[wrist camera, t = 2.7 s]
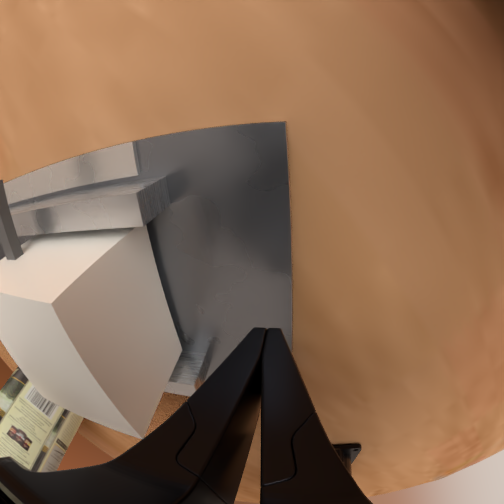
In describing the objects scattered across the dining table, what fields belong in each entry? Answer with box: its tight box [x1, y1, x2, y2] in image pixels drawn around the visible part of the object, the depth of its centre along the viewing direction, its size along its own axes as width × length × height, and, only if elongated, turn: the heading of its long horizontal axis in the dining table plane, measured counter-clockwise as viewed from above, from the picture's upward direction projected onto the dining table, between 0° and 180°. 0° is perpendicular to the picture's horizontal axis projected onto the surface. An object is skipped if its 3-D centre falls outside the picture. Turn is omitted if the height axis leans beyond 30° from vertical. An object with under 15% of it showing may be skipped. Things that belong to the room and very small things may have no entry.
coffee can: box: [0, 366, 84, 472], centre depth 17 cm, size 10×10×14 cm
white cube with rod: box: [0, 180, 182, 439], centre depth 9 cm, size 9×15×5 cm, turn 95°
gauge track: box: [0, 121, 293, 396], centre depth 10 cm, size 12×28×7 cm, turn 95°
